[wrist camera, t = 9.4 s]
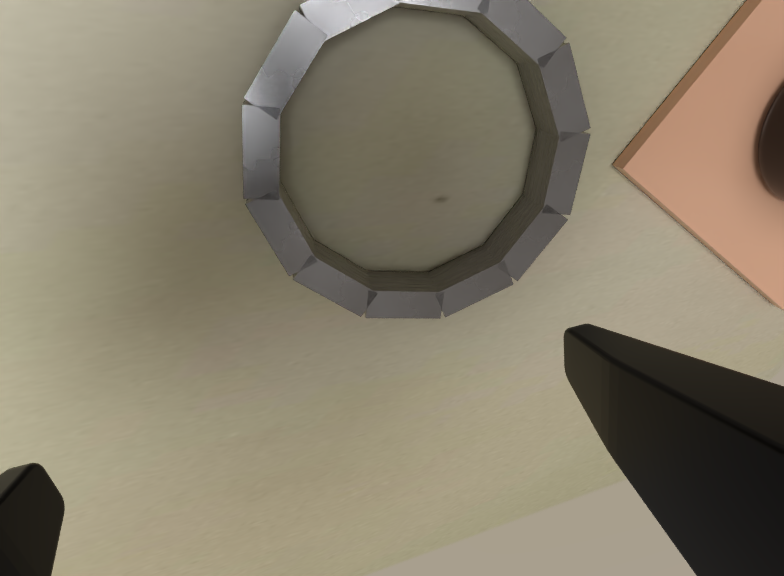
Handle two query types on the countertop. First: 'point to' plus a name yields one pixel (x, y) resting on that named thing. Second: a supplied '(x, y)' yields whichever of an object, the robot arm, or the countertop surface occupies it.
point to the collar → (513, 235)
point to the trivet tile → (721, 149)
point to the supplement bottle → (773, 147)
